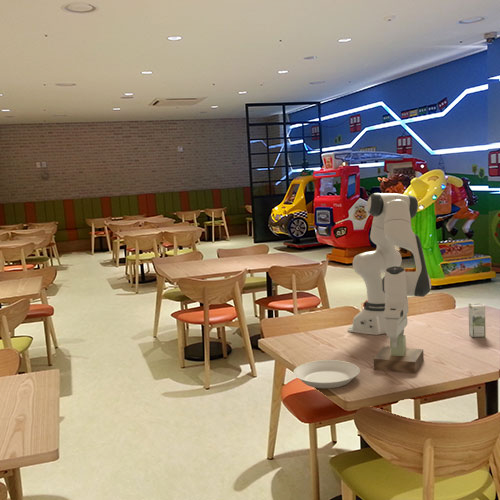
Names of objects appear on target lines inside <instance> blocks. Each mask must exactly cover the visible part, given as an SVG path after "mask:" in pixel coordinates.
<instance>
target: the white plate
mask: <svg viewBox="0 0 500 500" xmlns="http://www.w3.org/2000/svg"><path fill="white" fill-rule="evenodd" d="M360 372H361V370H360V367H359V366H357V365H356V364H354V363H352V362H348V361H345V360H338V359H337V360H336V359H335V360H334V359H323V360H313V361H309V362H305V363H303V364H299V365H298V366H296V367H295V368H294V370H293V372H292V373H293V375H294V376H295V378H297V379H298V380H300V381H301V382H302V383H303V384H305V385H306V386H308V387H312V388H316V389H335V388H339V387H343V386H346V385H348V384H349V383H351V381H352V380H353V379H354V378H355V377H357V376H358V375H359V374H360Z"/></svg>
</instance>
